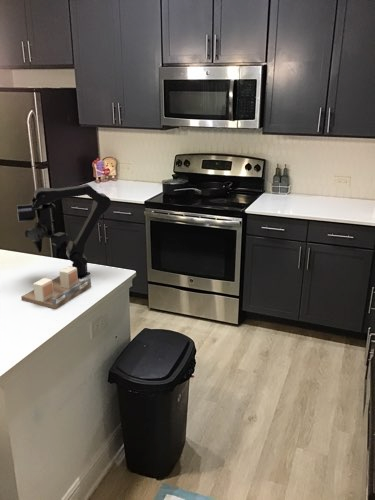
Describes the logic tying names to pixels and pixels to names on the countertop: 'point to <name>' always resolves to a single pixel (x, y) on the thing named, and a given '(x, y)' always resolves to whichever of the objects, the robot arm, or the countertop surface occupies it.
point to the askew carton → (68, 277)
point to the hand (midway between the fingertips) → (48, 254)
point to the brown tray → (59, 293)
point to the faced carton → (43, 289)
